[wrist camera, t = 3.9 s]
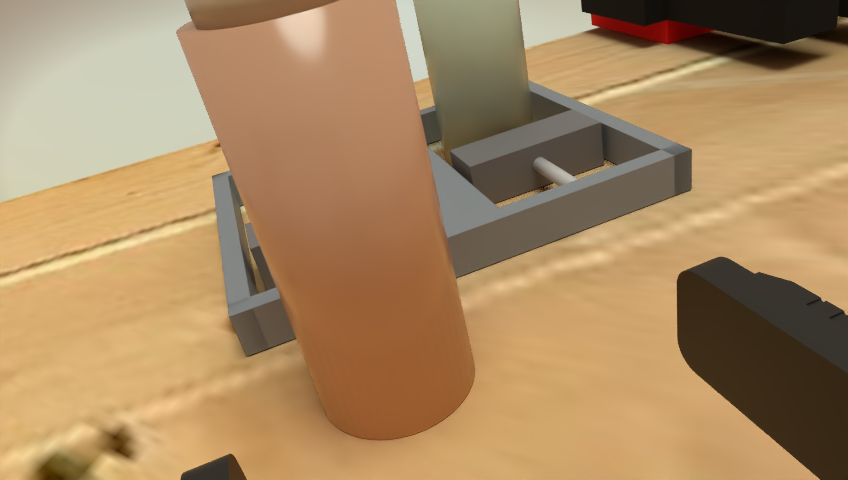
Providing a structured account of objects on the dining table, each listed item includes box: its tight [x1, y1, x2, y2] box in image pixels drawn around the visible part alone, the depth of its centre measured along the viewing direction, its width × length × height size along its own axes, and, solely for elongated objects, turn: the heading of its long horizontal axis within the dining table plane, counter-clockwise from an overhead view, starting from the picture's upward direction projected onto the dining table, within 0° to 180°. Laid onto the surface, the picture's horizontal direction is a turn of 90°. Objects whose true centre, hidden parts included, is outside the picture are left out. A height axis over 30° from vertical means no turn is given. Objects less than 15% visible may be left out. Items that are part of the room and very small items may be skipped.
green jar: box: [413, 0, 534, 167], centre depth 38 cm, size 6×6×15 cm
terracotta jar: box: [176, 0, 475, 440], centre depth 21 cm, size 6×6×15 cm
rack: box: [212, 81, 692, 356], centre depth 37 cm, size 23×18×3 cm
